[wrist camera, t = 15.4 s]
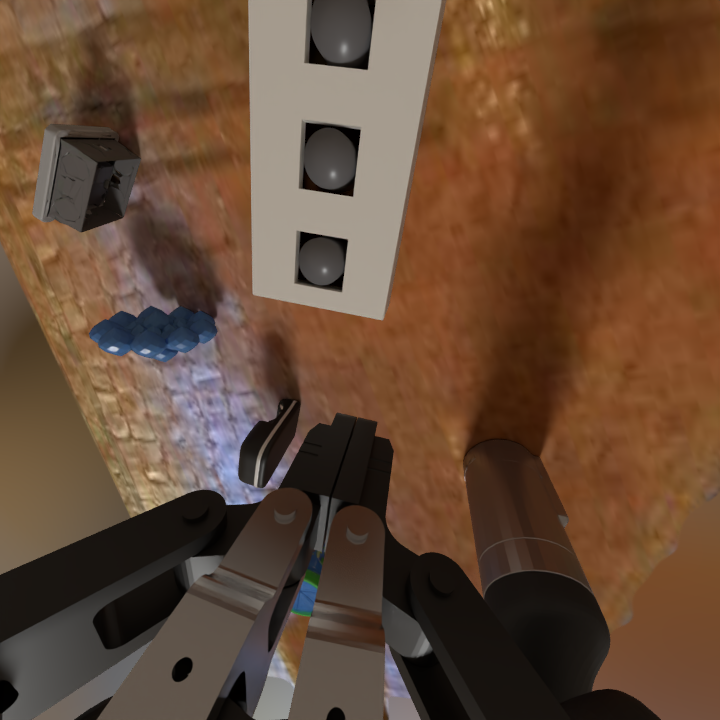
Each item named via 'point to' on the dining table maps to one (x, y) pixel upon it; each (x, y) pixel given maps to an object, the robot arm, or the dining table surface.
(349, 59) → the knob
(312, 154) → the knob
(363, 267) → the knob panel
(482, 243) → the dining table surface
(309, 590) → the snack cup
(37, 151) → the dining table surface
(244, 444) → the battery charger
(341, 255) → the knob
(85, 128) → the electrical switch
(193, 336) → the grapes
